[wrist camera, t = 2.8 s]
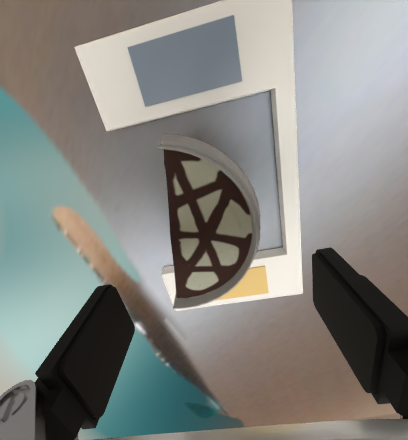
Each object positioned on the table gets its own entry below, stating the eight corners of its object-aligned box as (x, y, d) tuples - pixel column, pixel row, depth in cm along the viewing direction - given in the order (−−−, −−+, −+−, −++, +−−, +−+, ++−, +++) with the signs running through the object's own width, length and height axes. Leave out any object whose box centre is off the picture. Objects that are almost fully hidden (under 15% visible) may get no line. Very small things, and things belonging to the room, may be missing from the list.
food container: (240, 244, 24) (257, 316, 15) (187, 243, 25) (173, 314, 16) (248, 129, 19) (282, 134, 10) (182, 129, 19) (156, 135, 10)
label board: (284, -9, 15) (292, -24, 14) (298, 284, 27) (303, 294, 25) (85, 53, 17) (72, 46, 16) (177, 301, 28) (175, 312, 27)
